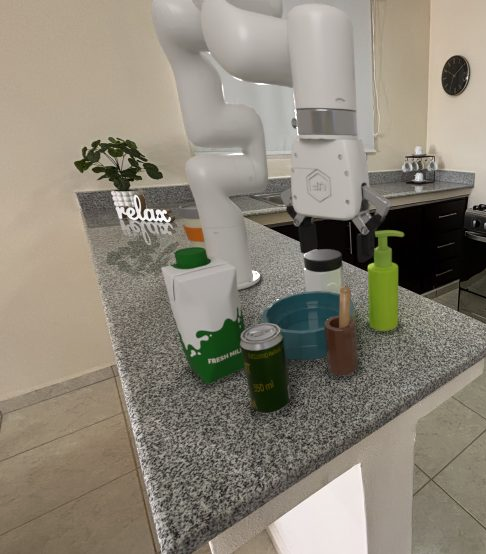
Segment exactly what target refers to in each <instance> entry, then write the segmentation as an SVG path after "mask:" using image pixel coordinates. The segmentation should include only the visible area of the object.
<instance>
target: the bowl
mask: <svg viewBox="0 0 486 554" xmlns="http://www.w3.org/2000/svg"><path fill="white" fill-rule="evenodd" d="M339 313H340V294H338V293H334V292H326V291H311V292H306V291H302V292H297V293H293V294H288V295H287V296H283V297H280V298H279V299H276V300H275V301H272V302H271V303H270V304H268V305H267V306H266V307H265V308H264V309H263V311H262V314H261V316H260V317H261V324H263V323H271V324H275V325H277V326H279V327H280V331H281V333H282V334H283V339H284V346H285V354H286V360H296V361H307V360H316V359H321V358H324V357H327V352H326V340H325V328H324V324H325V321H326V320H328V319H329V318H331V317H334V316H339ZM350 317H352V318H354V319H355V320H356V307H355V304H354V301H353V300H352V299H351V300H350Z"/></svg>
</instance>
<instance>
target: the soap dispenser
mask: <svg viewBox="0 0 486 554" xmlns="http://www.w3.org/2000/svg"><path fill="white" fill-rule="evenodd" d="M404 236H405V233H404V232H403V231H400V230H393V229H392V230H391V229H385V230H384V229H383V230H375V231H374V237H375V238H378V239H377V246H376V247H374V254H373V262H371V263H369V264H367V283H368V284H367V288H368V289H367V290H368V292H367V293H368V322H369V324H368V325H369V327H370V328H372V329H373V330H375V331H379V332H380V331H381V332H385V331H391V330H393V329H395V328H397V327H398V325H399V265H398V264H397V263H395V262H393V250H392V248H391V247H390V246H388V237H399V238H403V237H404Z"/></svg>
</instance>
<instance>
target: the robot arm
mask: <svg viewBox="0 0 486 554" xmlns="http://www.w3.org/2000/svg"><path fill="white" fill-rule="evenodd" d="M283 9H284V6H283V0H152V1H151V11H150V12H151V18H152V19H151V20H152V24H153V29H154V31H155V35H156V38H157V39H158V42H159V44H160V47H161V49H162V51H163V53H164V55H165V56H166V59H167V60H168V63H169V65H170V67H171V70H172V73H173V76H174V79H175V84H176V91H177V94H178V95H177V96H178V101H179V107H180V111H181V117H182V122H183V127H184V130H185V133H186V137H187V139H188V140H189V142H190V143H191V144H192V145H194V146H196V147H199V148H206V149H240V150H241V153H205V154H204V153H203V154H197V155H194V156H191V157H190V158H188V159H187V160H186V162H185V164H184V174H185V175H184V176H185V178H186V182H187V184H188V186H189V189H190V191H191V194H192V197H193V199H194V203H196V206H197V210H198V214H199V218H200V223H201V227H202V232H203V237H204V241H205V246H206V251H207V255H208V256H207V258H208V257H211V256H216V257H218V258H220V259H222V260H224V261H226V262H228V263H229V264H230V265H232V266H234V267H235V268H236V276H237V288H238V291H240V290H243V289H244V290H245V289H248V288H250V287H253V286H254V285H256V284H257V283H259V282H260V280H261V275H260V273H259V272H258V271H256V270H254V269H253V264H252V258H251V251H250V245H249V240H248V239H249V238H248V234H247V228H246V221H245V215H244V213H243V212H242V210H241V208H240V207H238V206H237V204H235V203H234V202H233V201H232V200H231V199H230V198H231V197H234V196H241V195H252V194H259V193H262V192H265V190H266V189H267V188H268V185H269V170H268V169H269V168H268V159H267V157H268V156H267V147H266V135H265V129H264V125H263V121H262V119H261V116H260V114H259V112H258V110H256V109H255V108H254V107H253V106H252V105H249V104H245V103H239V102H227V101H226V98H225V93H224V84H223V79H222V76H221V75H220V73H219V71H218V69H217V68H216V66H215V65H214V64H213V63H212V61H211V60H210V59H209V58H208V57H207V56H206V55H205V54H204V53H206V54H210V55H211V57H212V58H213V60H215V62H216V63H217V64H218V65H219V66H220V67H221V68H222V69H223V70H224V71H225V72H226V73H227V74H228V75H229V76H231V77H232V78H234V79H236V80H238V81H241V82H245V83H248V84H256V85H268V86H276V87H286V88H290V89H292V91H293V92H292V93H293V102H294V112H295V117H293V118H291V121H290V122H291V123H290V124H291V126H292V128H293V129H296V132H297V138H292V143H291V152H290V185H291V186H289V187H288V188H287V189H285V190H284V191H281V193H280V194H279V197H280V199H281V201H282V203H283V205H284V207H285V208H286V212H287V214H288V215H289V216H290V218H291V219H292V220H293V225H294V226H295V227H297V230H298V239H299V247H300V253H301V254H306V253H308V252H310V251H314V250H318V246H319V245H318V235H317V224H316V222H312V221H313V220H314V218H318V219H326V220H334V221H335V220H336V221H350V220H351V221H352V223H353V224H354V225H355V227H356V228H357V229H358V231H359V232H360V233H358V234H357V235H356V251H357V252H356V255H357V261H358V263H361V264H362V263H363V264H364V263H365V262H367V261H369V260H370V259H372V258H374V249H375V231H378V228H379V227H380V226H381V225H382V224H383V223H384V222H385V220H386V216H387V215H388V213H389V211H390V208H391V207H392V201H391V200H390V199H388V198H387V197H385V196H384V195H383V194H381V193H379V192H377V191H376V190H375V189H373V188H372V187H371V186H370V177H369V169H368V162H367V157H366V153H365V148H364V143H363V140H362V139H359V136H358V115H357V113H358V112H357V89H356V86H357V85H356V67H355V65H356V64H355V44H354V42H355V41H354V28H353V23H352V20H351V18H350V17H349V15H348V14H347V13H346V12H345V11H344V10H342V9H341V8H338V7H336V6H332V5H329V4H325V3H303V4H299V5H295V6H294V7H292V8H291V9H289V12H288V13H287V17H286V19H285V18H283V15H284V14H283V13H284V10H283ZM371 204H372V205H374V206H375V211H374V214H373V215H371V214H370V211H371Z"/></svg>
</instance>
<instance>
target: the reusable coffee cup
mask: <svg viewBox="0 0 486 554" xmlns="http://www.w3.org/2000/svg"><path fill="white" fill-rule="evenodd" d="M178 212H179V213H178V214H179V217H180V218H181V220H182V223H183V224H182V227H183V230H184V232H185V235H186V237H187V239H188V241H190V244H191V247H201V248H205V250H206V246H205V241H204V237H203V232H202V227H201V223H200V218H199V214H198V210H197V206H196V203H195V202H192V203H190V202H189V203H186V204H185V203H184V204H182V205H179V206H178ZM206 254H207V251H206ZM207 257H208V255H207Z"/></svg>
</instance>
